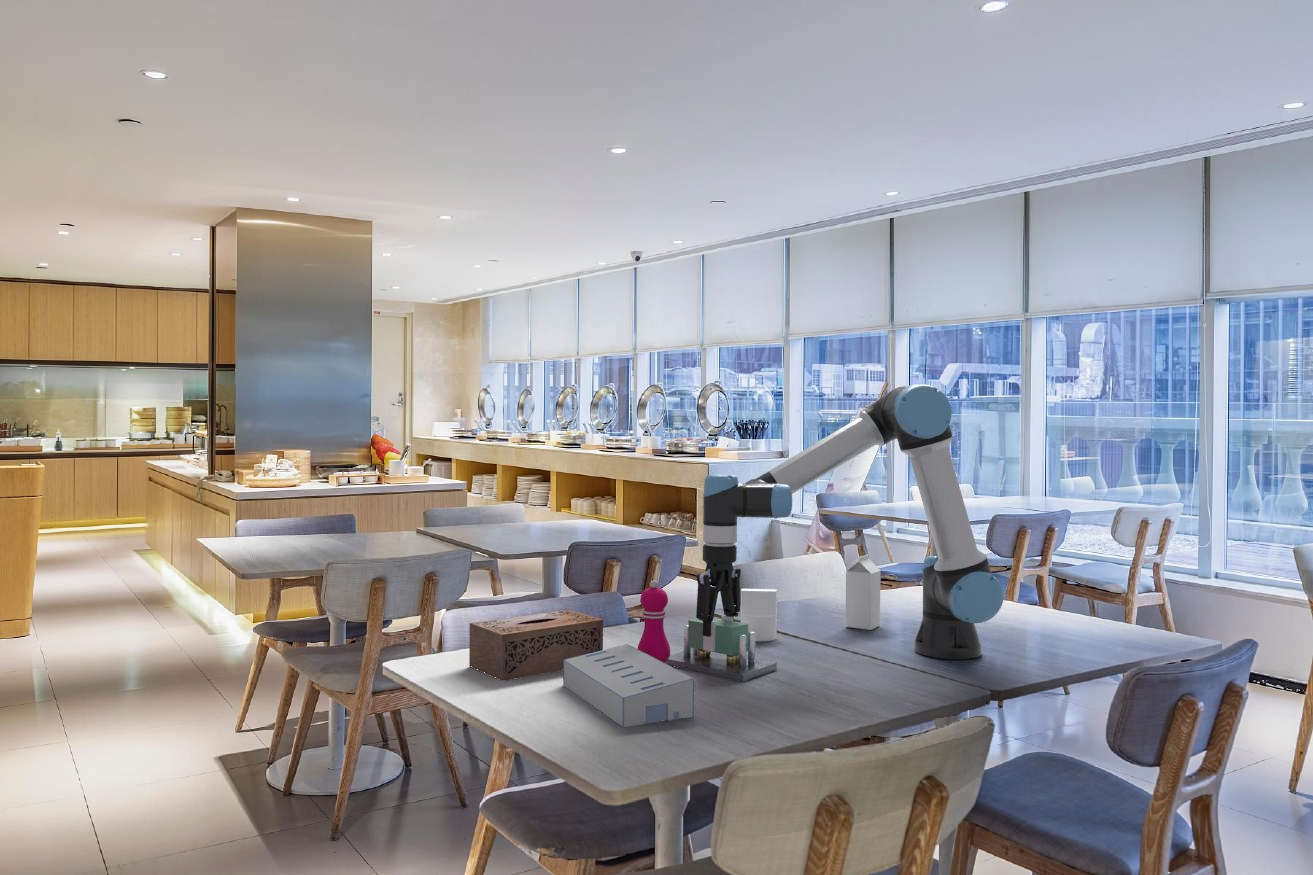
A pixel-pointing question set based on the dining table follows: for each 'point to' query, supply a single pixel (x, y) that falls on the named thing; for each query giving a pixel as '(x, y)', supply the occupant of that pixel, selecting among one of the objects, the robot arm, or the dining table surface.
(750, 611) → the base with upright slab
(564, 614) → the tissue box cover
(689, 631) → the mint green rectangular block
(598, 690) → the warehouse
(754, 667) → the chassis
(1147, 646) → the dining table surface
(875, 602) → the milk carton
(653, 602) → the pepper mill
